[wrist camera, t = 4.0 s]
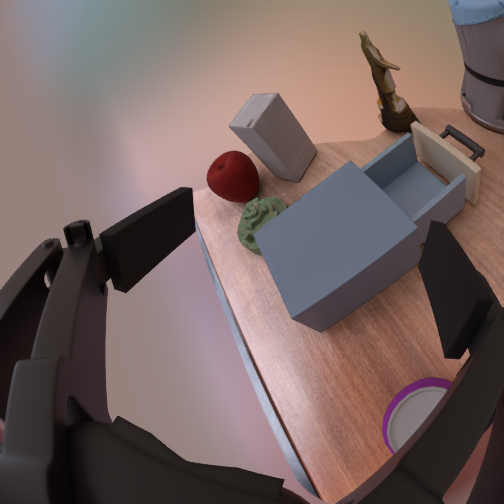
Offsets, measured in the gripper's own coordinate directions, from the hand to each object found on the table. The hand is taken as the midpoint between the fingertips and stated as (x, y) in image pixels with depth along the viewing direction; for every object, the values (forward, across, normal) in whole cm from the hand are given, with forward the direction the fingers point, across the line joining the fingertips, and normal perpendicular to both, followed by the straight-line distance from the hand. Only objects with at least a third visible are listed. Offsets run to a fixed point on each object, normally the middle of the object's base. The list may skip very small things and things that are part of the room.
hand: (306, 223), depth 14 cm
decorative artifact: (+30, -9, -15) cm, 35 cm away
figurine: (+39, +13, +5) cm, 41 cm away
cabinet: (+22, +4, -14) cm, 26 cm away
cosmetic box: (+40, -7, -5) cm, 41 cm away
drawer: (+25, +15, -3) cm, 29 cm away
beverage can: (+4, +17, -21) cm, 27 cm away
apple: (+39, -16, -11) cm, 44 cm away
